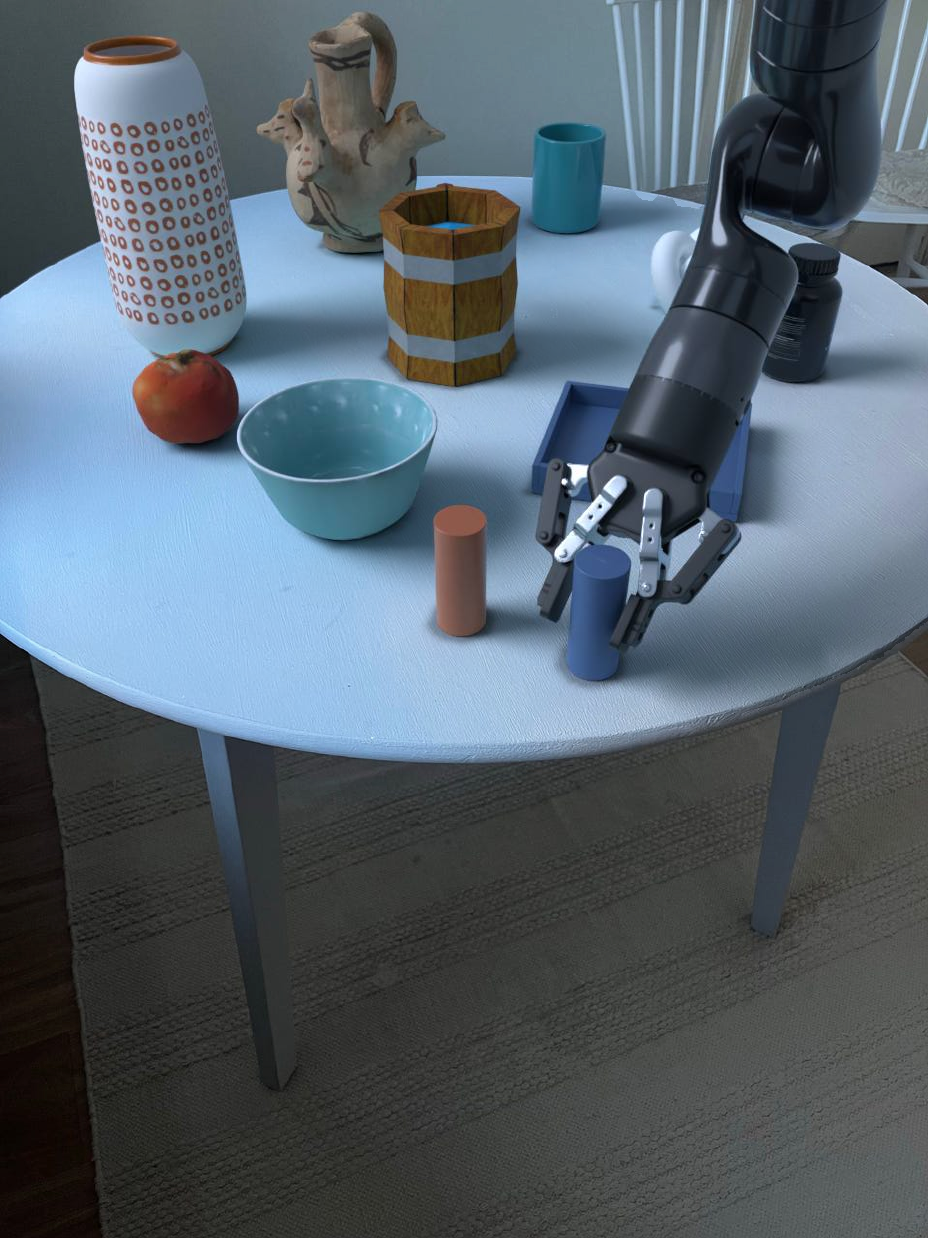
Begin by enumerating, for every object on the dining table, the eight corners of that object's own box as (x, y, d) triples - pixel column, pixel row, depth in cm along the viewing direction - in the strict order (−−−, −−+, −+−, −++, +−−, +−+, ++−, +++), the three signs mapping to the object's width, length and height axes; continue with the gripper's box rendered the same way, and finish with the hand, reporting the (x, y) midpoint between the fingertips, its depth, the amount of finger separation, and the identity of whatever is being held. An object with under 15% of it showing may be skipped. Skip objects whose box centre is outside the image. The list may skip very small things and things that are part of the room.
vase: (162, 384, 100) (91, 72, 82) (105, 338, 108) (28, 43, 90) (276, 345, 107) (235, 47, 88) (215, 304, 115) (165, 22, 96)
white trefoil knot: (692, 349, 106) (705, 265, 100) (615, 310, 113) (622, 229, 107) (765, 320, 111) (781, 239, 105) (686, 285, 118) (697, 207, 112)
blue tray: (746, 429, 93) (752, 402, 91) (736, 522, 82) (742, 494, 80) (564, 406, 97) (566, 380, 95) (531, 492, 86) (532, 464, 84)
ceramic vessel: (267, 229, 132) (238, 11, 115) (402, 207, 138) (393, -4, 121) (311, 281, 119) (286, 44, 103) (457, 255, 125) (455, 27, 109)
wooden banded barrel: (522, 384, 100) (528, 232, 90) (387, 388, 99) (377, 237, 90) (505, 301, 115) (508, 163, 105) (387, 305, 114) (378, 167, 104)
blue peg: (621, 650, 71) (635, 548, 65) (613, 685, 68) (627, 582, 62) (571, 641, 72) (580, 540, 66) (561, 675, 69) (570, 573, 63)
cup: (601, 204, 138) (608, 116, 131) (597, 236, 129) (605, 143, 122) (535, 201, 139) (539, 114, 132) (527, 233, 130) (531, 141, 123)
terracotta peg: (491, 608, 74) (492, 508, 68) (478, 640, 72) (479, 539, 66) (444, 600, 75) (442, 501, 69) (430, 631, 72) (426, 531, 67)
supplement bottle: (837, 376, 101) (868, 258, 93) (780, 389, 99) (807, 270, 91) (796, 348, 106) (822, 233, 98) (741, 359, 104) (763, 243, 96)
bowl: (265, 584, 77) (249, 494, 71) (241, 475, 88) (225, 390, 83) (462, 547, 80) (461, 459, 74) (414, 447, 91) (410, 364, 86)
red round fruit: (126, 430, 94) (105, 351, 89) (213, 398, 98) (198, 321, 93) (173, 471, 89) (154, 390, 83) (263, 436, 93) (250, 356, 88)
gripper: (575, 345, 65) (469, 585, 66) (786, 408, 59) (667, 673, 60) (608, 386, 72) (512, 604, 73) (800, 446, 66) (693, 684, 66)
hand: (582, 633), depth 66 cm, fingers open, 4 cm apart
